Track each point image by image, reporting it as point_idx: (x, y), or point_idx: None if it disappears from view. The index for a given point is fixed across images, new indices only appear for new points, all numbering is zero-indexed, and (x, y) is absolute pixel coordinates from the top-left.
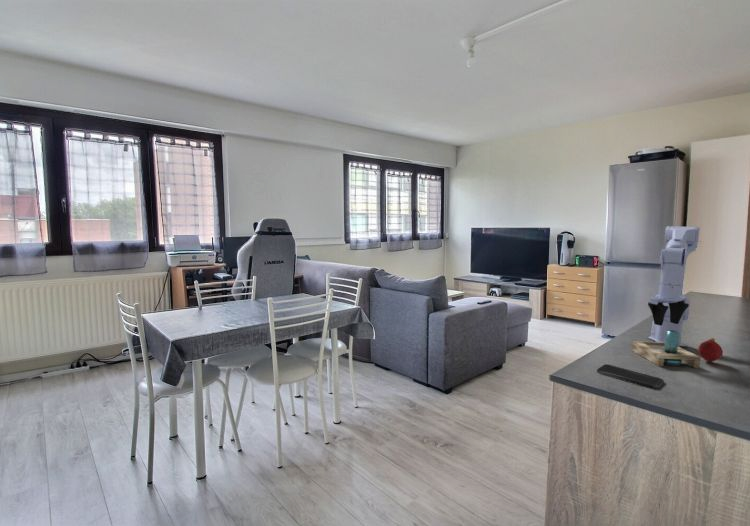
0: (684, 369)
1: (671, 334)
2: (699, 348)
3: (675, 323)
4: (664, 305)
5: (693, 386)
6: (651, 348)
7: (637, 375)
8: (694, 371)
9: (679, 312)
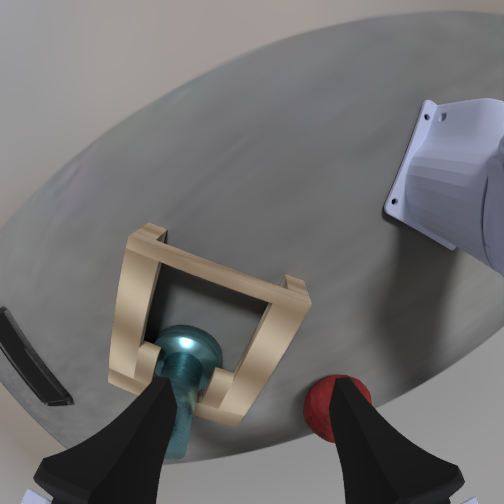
0: None
1: None
2: (315, 401)
3: (329, 403)
4: None
5: None
6: (131, 338)
7: (36, 371)
8: None
9: (345, 482)
